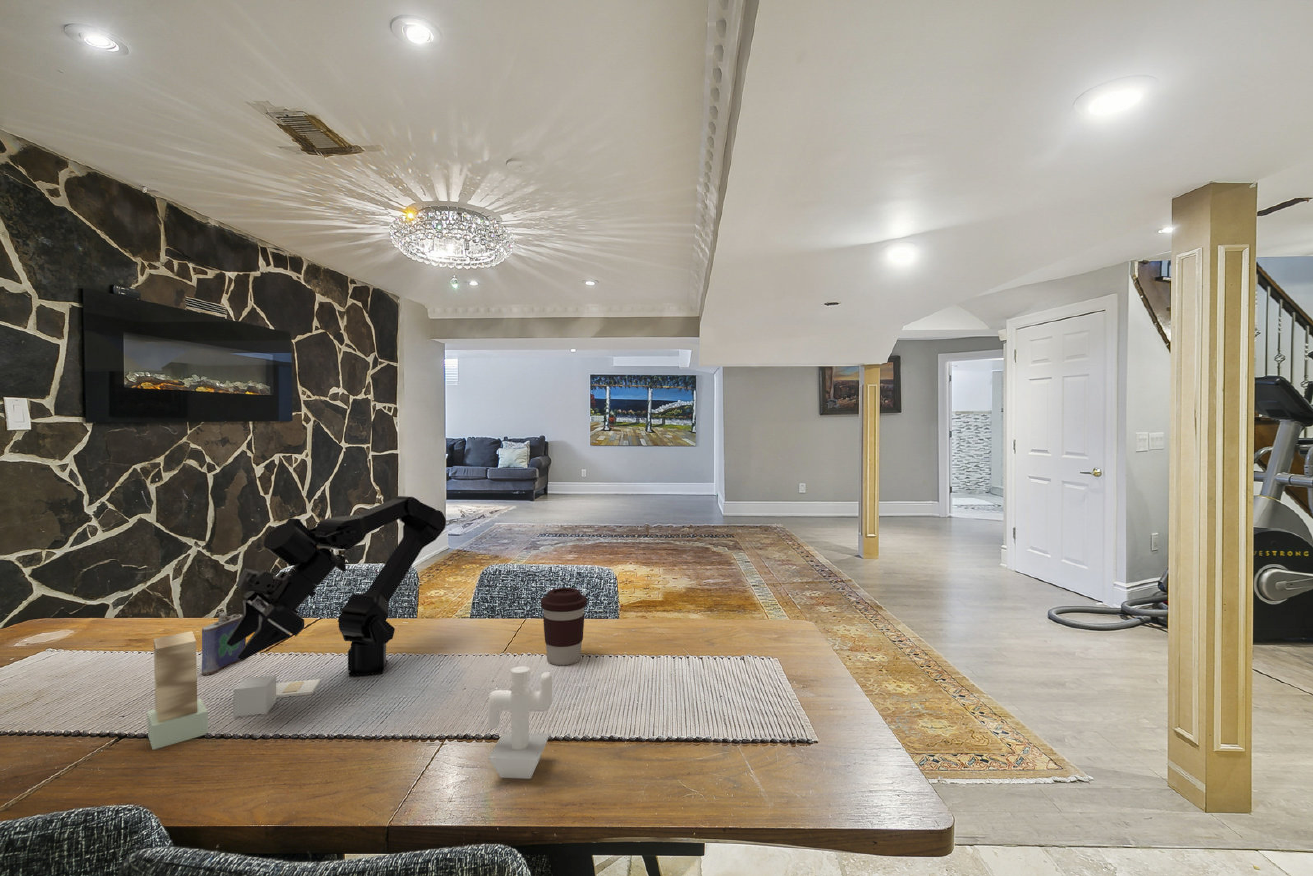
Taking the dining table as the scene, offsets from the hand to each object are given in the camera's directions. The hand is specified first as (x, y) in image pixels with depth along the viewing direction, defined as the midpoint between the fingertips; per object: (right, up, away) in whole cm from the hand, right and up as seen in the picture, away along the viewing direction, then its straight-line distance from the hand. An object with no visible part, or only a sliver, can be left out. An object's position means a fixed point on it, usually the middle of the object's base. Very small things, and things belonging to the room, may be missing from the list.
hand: (234, 651), depth 104 cm
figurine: (+53, -12, -16) cm, 57 cm away
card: (+4, -11, +11) cm, 16 cm away
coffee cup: (+53, -11, +27) cm, 61 cm away
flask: (-18, -11, +23) cm, 31 cm away
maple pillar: (-5, -8, -6) cm, 11 cm away
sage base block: (-5, -12, -6) cm, 14 cm away
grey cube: (+2, -12, +3) cm, 12 cm away
